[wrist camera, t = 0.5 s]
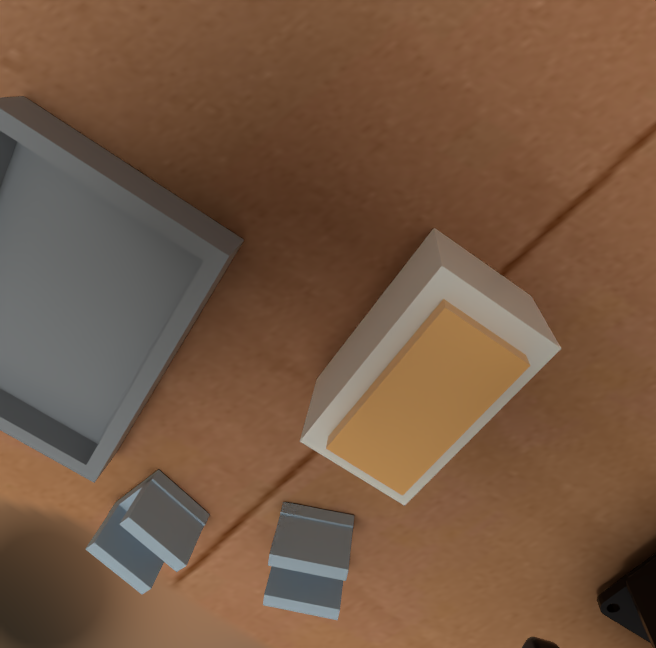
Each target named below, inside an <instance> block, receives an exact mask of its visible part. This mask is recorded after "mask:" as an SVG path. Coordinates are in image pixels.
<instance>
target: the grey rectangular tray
mask: <svg viewBox="0 0 656 648" xmlns="http://www.w3.org/2000/svg"><path fill="white" fill-rule="evenodd" d="M243 241H244V240H243V239H242V238H240V237H239V236H237V235H236V234H234V233H233V232H231V231H230V230H228V229H227V228H225V227H223V226H222V225H220V224H219V223H217V222H216V221H214V220H213V219H211V218H210V217H208V216H207V215H205V214H204V213H202V212H200V211H199V210H197V209H196V208H194V207H193V206H191V205H190V204H188V203H187V202H185V201H184V200H182V199H181V198H179V197H177V196H176V195H174V194H173V193H171V192H170V191H168V190H167V189H165V188H164V187H162V186H161V185H159V184H157V183H156V182H154V181H153V180H151V179H150V178H148V177H147V176H145V175H144V174H142V173H141V172H139V171H138V170H136V169H134V168H133V167H131V166H130V165H128V164H127V163H125V162H124V161H122V160H121V159H119V158H118V157H116V156H115V155H113V154H111V153H110V152H108V151H107V150H105V149H104V148H102V147H101V146H99V145H98V144H96V143H95V142H93V141H92V140H90V139H88V138H87V137H85V136H84V135H82V134H81V133H79V132H78V131H76V130H75V129H73V128H72V127H70V126H68V125H67V124H65V123H64V122H62V121H61V120H59V119H58V118H56V117H55V116H53V115H52V114H50V113H49V112H47V111H45V110H44V109H42V108H41V107H39V106H38V105H36V104H35V103H33V102H32V101H30V100H29V99H27V98H26V97H24V96H18V97H4V98H0V430H1V431H3V432H5V433H6V434H8V435H10V436H12V437H13V438H15V439H17V440H19V441H21V442H22V443H24V444H26V445H28V446H30V447H31V448H33V449H35V450H37V451H38V452H40V453H42V454H44V455H46V456H47V457H49V458H51V459H53V460H55V461H56V462H58V463H60V464H62V465H63V466H65V467H67V468H69V469H71V470H72V471H74V472H76V473H78V474H80V475H81V476H83V477H85V478H87V479H88V480H90V481H92V482H94V483H95V481H96V480H97V479H98V477H99V476H100V474H101V473H102V472H103V470H104V469H105V468H106V466H107V465H108V464H109V462H110V461H111V460H112V458H113V457H114V456H115V454H116V453H117V451H118V449H119V448H120V446H121V444H122V443H123V441H124V439H125V438H126V436H127V434H128V433H129V431H130V429H131V428H132V426H133V424H134V423H135V421H136V419H137V418H138V416H139V414H140V413H141V411H142V409H143V408H144V406H145V404H146V403H147V401H148V399H149V398H150V396H151V394H152V393H153V391H154V389H155V388H156V386H157V384H158V383H159V381H160V379H161V378H162V376H163V374H164V373H165V371H166V369H167V368H168V366H169V364H170V363H171V361H172V359H173V358H174V356H175V354H176V353H177V351H178V349H179V348H180V346H181V344H182V343H183V341H184V339H185V338H186V336H187V334H188V333H189V331H190V329H191V328H192V326H193V324H194V323H195V321H196V319H197V318H198V316H199V314H200V313H201V311H202V309H203V308H204V306H205V304H206V303H207V301H208V299H209V298H210V296H211V294H212V293H213V291H214V289H215V288H216V286H217V284H218V283H219V281H220V279H221V278H222V276H223V274H224V273H225V271H226V269H227V268H228V266H229V264H230V263H231V261H232V259H233V258H234V256H235V254H236V253H237V251H238V249H239V248H240V246H241V244H242V243H243Z"/></svg>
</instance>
